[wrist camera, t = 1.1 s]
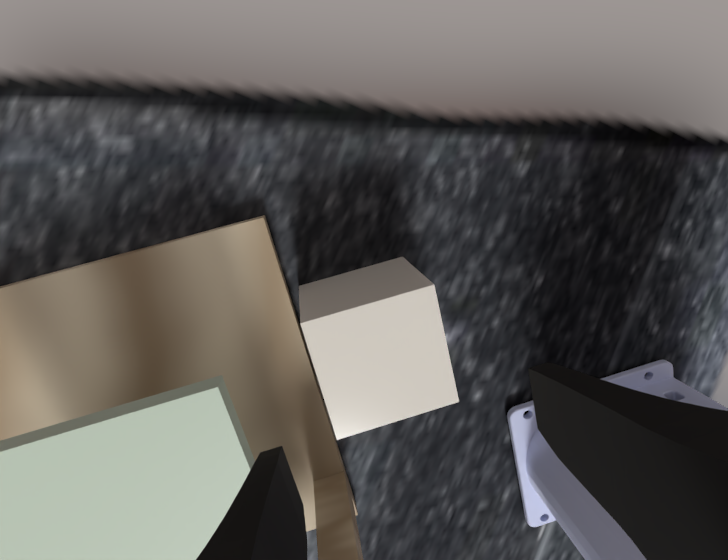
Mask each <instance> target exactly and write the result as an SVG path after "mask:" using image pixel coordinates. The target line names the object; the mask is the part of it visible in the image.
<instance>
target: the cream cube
mask: <svg viewBox="0 0 728 560" xmlns="http://www.w3.org/2000/svg"><path fill="white" fill-rule="evenodd" d="M299 305H300V324H301V328H302V331H303V334H304V337H305V340H306V343H307V347H308V350H309V353H310V356H311V359H312V363H313V366H314V369H315V372H316V375H317V378H318V382H319V385H320V388H321V391H322V394H323V398H324V401H325V404H326V407H327V410H328V413H329V417H330V420H331V423H332V426H333V429H334V433H335V436H336V439H337V440H339V439H342V438H345V437H348V436H351V435H355V434H358V433H361V432H364V431H367V430H371V429H374V428H377V427H380V426H383V425H387V424H390V423H393V422H396V421H399V420H403V419H406V418H409V417H412V416H415V415H418V414H422V413H425V412H428V411H431V410H434V409H438V408H441V407H444V406H447V405H450V404H454V403H457V402H459V399H458V394H457V390H456V385H455V380H454V376H453V371H452V366H451V361H450V357H449V352H448V347H447V343H446V338H445V333H444V328H443V324H442V319H441V314H440V310H439V305H438V300H437V296H436V291H435V286H434V284H433V283H432V282H431V281H430V280H428V279H427V278H426V277H425V276H424V275H423V274H422V273H421V272H419V271H418V270H417V269H416V268H415V267H414V266H413V265H411V264H410V263H409V262H408V261H407V260H406V259H405V258H404V257H399V258H396V259H392V260H389V261H385V262H382V263H378V264H375V265H371V266H368V267H364V268H360V269H357V270H353V271H350V272H346V273H343V274H339V275H336V276H332V277H329V278H325V279H322V280H318V281H315V282H311V283H308V284H304V285H301V286H299Z"/></svg>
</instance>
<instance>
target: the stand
mask: <svg viewBox="0 0 728 560" xmlns="http://www.w3.org/2000/svg"><path fill="white" fill-rule="evenodd" d="M220 375H222V377H223V379H224V382H225V384H226V387H227V390H228V392H229V395H230V397H231V400H232V403H233V405H234V408H235V410H236V413H237V416H238V418H239V421H240V423H241V426H242V428H243V431H244V434H245V436H246V439H247V441H248V444H249V447H250V449H251V452H252V454H253V457H254V460H255V461H256V459H257V457H258V455H259V454H260V452H263V451H267V450H270V449H273V448H276V447H279V446H282V447H283V450H284V453H285V455H286V458H287V461H288V464H289V466H290V469H291V472H292V475H293V478H294V480H295V483H296V486H297V489H298V491H299V494H300V497H301V500H302V502H303V506H304V515H305V524H306V532H307V531H310V530H313V529H316V531H317V547H318V560H363V556H362V550H361V544H360V539H359V533H358V527H357V521H356V516H355V515H358V513H357V507H356V502H355V499H354V496H353V493H352V490H351V487H350V483H349V480H348V477H347V474H346V471H345V468H344V464H343V461H342V458H341V455H340V452H339V449H338V445H337V442H336V439H335V436H334V433H333V430H332V426H331V423H330V420H329V417H328V414H327V411H326V407H325V404H324V401H323V398H322V395H321V392H320V388H319V385H318V382H317V379H316V376H315V373H314V370H313V366H312V363H311V360H310V357H309V354H308V351H307V347H306V344H305V341H304V338H303V335H302V332H301V328H300V325H299V322H298V319H297V316H296V313H295V309H294V306H293V303H292V300H291V297H290V294H289V290H288V287H287V284H286V281H285V278H284V275H283V271H282V268H281V265H280V262H279V259H278V256H277V252H276V249H275V246H274V243H273V240H272V237H271V233H270V230H269V227H268V224H267V221H266V218H265V215H263V216H260V217H256V218H252V219H249V220H245V221H241V222H237V223H234V224H230V225H226V226H223V227H219V228H215V229H211V230H208V231H204V232H200V233H197V234H193V235H189V236H185V237H182V238H178V239H174V240H171V241H167V242H163V243H160V244H156V245H152V246H148V247H145V248H141V249H137V250H134V251H130V252H126V253H122V254H119V255H115V256H111V257H108V258H104V259H100V260H96V261H93V262H89V263H85V264H82V265H78V266H74V267H71V268H67V269H63V270H59V271H56V272H52V273H48V274H45V275H41V276H37V277H33V278H30V279H26V280H22V281H19V282H15V283H11V284H8V285H4V286H0V441H1V440H4V439H8V438H11V437H14V436H18V435H21V434H24V433H28V432H31V431H35V430H38V429H41V428H45V427H48V426H51V425H55V424H58V423H62V422H65V421H68V420H72V419H75V418H78V417H82V416H85V415H89V414H92V413H95V412H99V411H102V410H105V409H109V408H112V407H116V406H119V405H122V404H126V403H129V402H132V401H136V400H139V399H143V398H146V397H149V396H153V395H156V394H159V393H163V392H166V391H170V390H173V389H176V388H180V387H183V386H186V385H190V384H193V383H197V382H200V381H203V380H207V379H210V378H213V377H217V376H220Z"/></svg>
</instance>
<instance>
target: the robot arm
mask: <svg viewBox="0 0 728 560" xmlns="http://www.w3.org/2000/svg"><path fill="white" fill-rule="evenodd" d="M528 371H529V377H530V384H531V390H532V397H533V400H532V401H529V402H526V403H523V404H520V405H517V406H514V407H512V408H511V409H510V410H509V411H508V413H507V419H508V424H509V430H510V436H511V441H512V447H513V452H514V458H515V464H516V469H517V475H518V480H519V486H520V492H521V497H522V503H523V509H524V514H525V519H526V521H527V523H528V524H529V525H530V526H531V527H538V526H541V525H543V524H546V523H549V522H552V521H555V520H557V522H558V523H559V524H560V526H561V527H562V529H563V530H564V531H565V533H566V534H567V535H568V537H569V538H570V539H571V541H572V542H573V544H574V545H575V546H576V548H577V549H578V550H579V552H580V553H581V554H582V556H583V557H584V559H585V560H728V408H726V407H724V406H723V405H721V404H719V403H717V402H716V401H714V400H712V399H710V398H709V397H707V396H705V395H703V394H702V393H700V392H698V391H696V390H695V389H693V388H691V387H689V386H688V385H686V384H684V383H682V382H681V381H679V380H677V379H675V378H674V376H673V365H672V364H671V363H670V362H668V361H666V360H658V361H655V362H652V363H649V364H645V365H642V366H639V367H636V368H633V369H630V370H627V371H623V372H620V373H617V374H614V375H611V376H608V377H605V378H601V379H599V378H596V377H593V376H590V375H587V374H584V373H581V372H578V371H575V370H572V369H569V368H566V367H563V366H560V365H556V364H553V363H549V362H547V363H544V364H541V365H538V366H534V367H531V368H528ZM646 373H647V375H646V376H645V374H646ZM526 411H529V412H528V413H527V414H526V415H523V414H524V413H525V412H526ZM543 514H544V515H543ZM196 560H307V535H306V524H305V515H304V506H303V502H302V500H301V497H300V494H299V491H298V489H297V486H296V483H295V480H294V478H293V475H292V472H291V469H290V466H289V464H288V461H287V458H286V455H285V453H284V450H283V447H282V446H279V447H276V448H273V449H270V450H267V451H263V452H260V454H259V455H258V457H257V459H256V461H255V462H254V464H253V466H252V468H251V470H250V472H249V474H248V476H247V477H246V479H245V481H244V483H243V485H242V487H241V489H240V490H239V492H238V494H237V496H236V497H235V499H234V501H233V503H232V504H231V506H230V508H229V510H228V511H227V513H226V515H225V516H224V518H223V520H222V521H221V523H220V524H219V526H218V528H217V529H216V531H215V532H214V534H213V535H212V537H211V539H210V540H209V542H208V543H207V545H206V546H205V548H204V549H203V550H202V552H201V553H200V555H199V556H198V557H197V559H196Z"/></svg>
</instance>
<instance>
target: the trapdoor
mask: <svg viewBox="0 0 728 560" xmlns="http://www.w3.org/2000/svg"><path fill="white" fill-rule="evenodd" d="M254 462H255V460H254V457H253V454H252V452H251V449H250V447H249V444H248V441H247V439H246V436H245V434H244V431H243V428H242V426H241V423H240V421H239V418H238V416H237V413H236V410H235V408H234V405H233V403H232V400H231V397H230V395H229V392H228V390H227V387H226V384H225V382H224V379H223V377H222V375H220V376H217V377H213V378H210V379H207V380H203V381H200V382H197V383H193V384H190V385H186V386H183V387H180V388H176V389H173V390H170V391H166V392H163V393H159V394H156V395H153V396H149V397H146V398H143V399H139V400H136V401H132V402H129V403H126V404H122V405H119V406H116V407H112V408H109V409H105V410H102V411H99V412H95V413H92V414H89V415H85V416H82V417H78V418H75V419H72V420H68V421H65V422H62V423H58V424H55V425H51V426H48V427H45V428H41V429H38V430H35V431H31V432H28V433H24V434H21V435H18V436H14V437H11V438H8V439H4V440H1V441H0V560H196V559H197V557H198V556H199V555H200V553H201V552H202V550H203V549H204V548H205V546H206V545H207V543H208V542H209V540H210V539H211V537H212V535H213V534H214V532H215V531H216V529H217V528H218V526H219V524H220V523H221V521H222V520H223V518H224V516H225V515H226V513H227V511H228V510H229V508H230V506H231V504H232V503H233V501H234V499H235V497H236V496H237V494H238V492H239V490H240V489H241V487H242V485H243V483H244V481H245V479H246V477H247V476H248V474H249V472H250V470H251V468H252V466H253V464H254Z"/></svg>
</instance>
